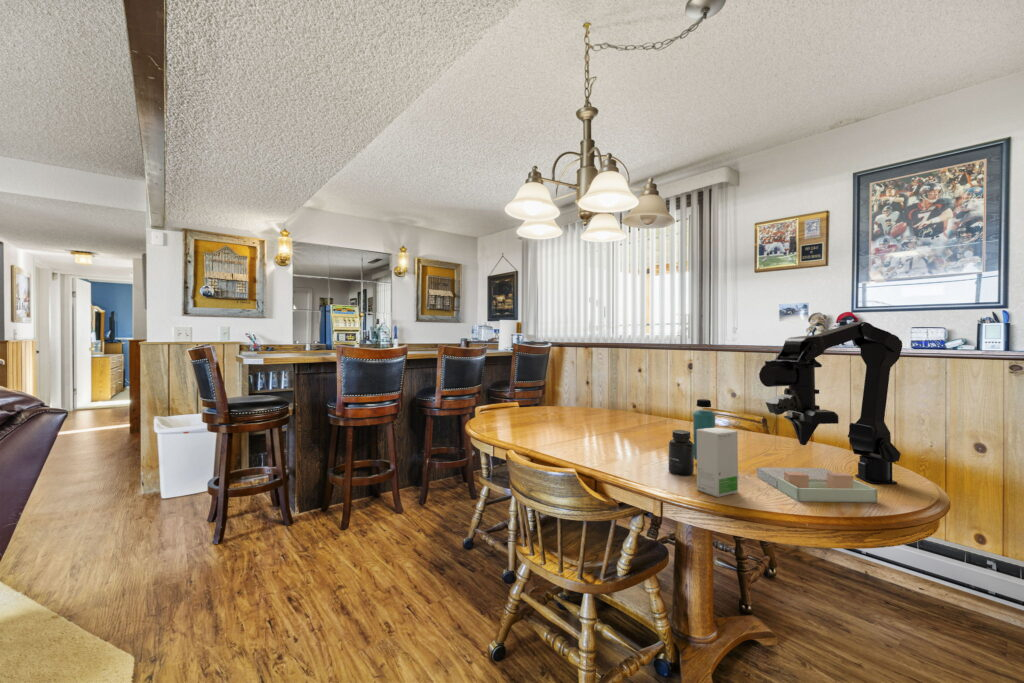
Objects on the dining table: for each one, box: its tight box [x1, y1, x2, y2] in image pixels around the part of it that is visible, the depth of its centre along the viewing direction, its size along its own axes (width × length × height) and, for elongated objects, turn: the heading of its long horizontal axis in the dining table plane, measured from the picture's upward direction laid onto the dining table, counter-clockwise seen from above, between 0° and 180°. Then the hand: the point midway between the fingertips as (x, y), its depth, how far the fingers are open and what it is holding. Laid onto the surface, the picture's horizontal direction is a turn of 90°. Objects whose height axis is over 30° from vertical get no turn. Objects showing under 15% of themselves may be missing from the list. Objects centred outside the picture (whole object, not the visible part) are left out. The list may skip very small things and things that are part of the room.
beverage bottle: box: [692, 398, 716, 461], centre depth 133 cm, size 6×7×20 cm
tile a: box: [827, 471, 854, 489], centre depth 107 cm, size 4×4×2 cm
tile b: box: [784, 472, 809, 488], centre depth 108 cm, size 4×4×2 cm
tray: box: [776, 477, 878, 504], centre depth 106 cm, size 18×9×3 cm, turn 87°
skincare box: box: [696, 427, 739, 498], centre depth 109 cm, size 8×7×16 cm
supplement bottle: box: [668, 429, 695, 477], centre depth 125 cm, size 7×7×12 cm
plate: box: [756, 466, 835, 489], centre depth 116 cm, size 18×10×2 cm, turn 87°
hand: (803, 444), depth 113 cm, fingers closed
